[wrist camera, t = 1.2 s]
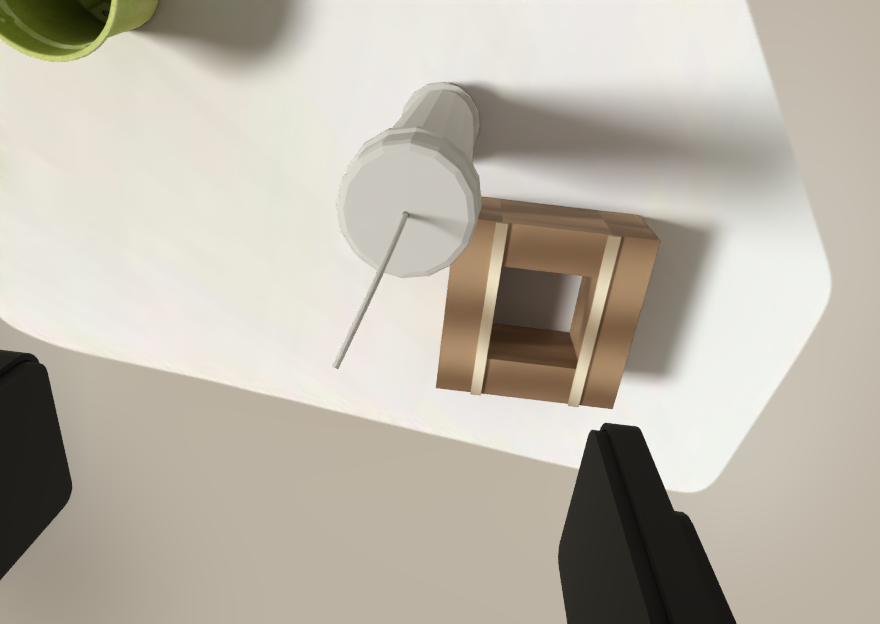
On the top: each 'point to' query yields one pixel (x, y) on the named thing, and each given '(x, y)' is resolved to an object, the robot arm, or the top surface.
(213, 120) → the top surface
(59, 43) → the plant pot
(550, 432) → the top surface
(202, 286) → the top surface
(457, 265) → the socket block
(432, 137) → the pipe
